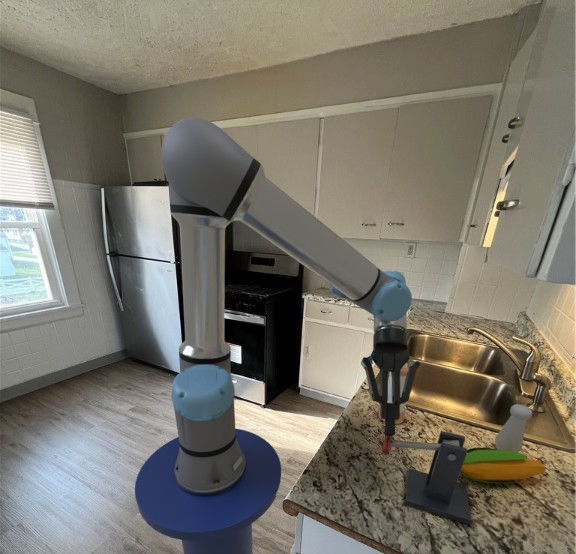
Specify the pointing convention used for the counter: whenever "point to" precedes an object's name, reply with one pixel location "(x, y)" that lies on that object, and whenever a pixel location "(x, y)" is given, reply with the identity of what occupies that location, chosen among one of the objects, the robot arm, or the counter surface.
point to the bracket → (441, 483)
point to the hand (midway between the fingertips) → (389, 434)
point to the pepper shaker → (402, 382)
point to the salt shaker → (513, 429)
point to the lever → (413, 444)
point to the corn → (499, 465)
